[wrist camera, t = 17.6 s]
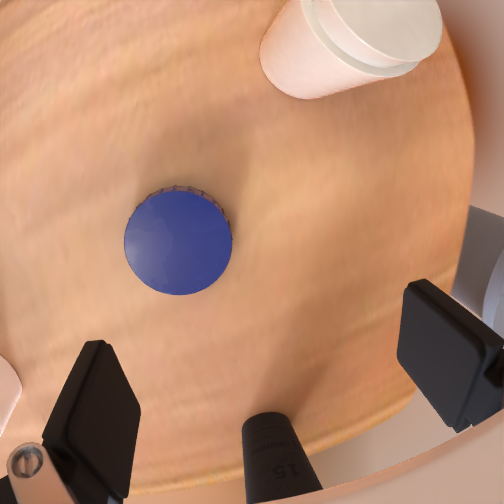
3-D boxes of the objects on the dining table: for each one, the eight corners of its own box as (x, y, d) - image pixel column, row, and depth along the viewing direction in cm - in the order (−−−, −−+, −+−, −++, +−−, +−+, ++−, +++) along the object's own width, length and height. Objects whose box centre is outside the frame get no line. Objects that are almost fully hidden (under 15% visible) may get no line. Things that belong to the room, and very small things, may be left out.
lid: (146, 171, 19) (141, 174, 17) (245, 205, 20) (249, 212, 19) (119, 265, 20) (112, 277, 19) (210, 294, 22) (211, 308, 20)
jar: (356, 44, 18) (458, -1, 8) (328, 114, 19) (432, 102, 9) (279, 5, 16) (340, -81, 6) (244, 76, 18) (289, 15, 8)
